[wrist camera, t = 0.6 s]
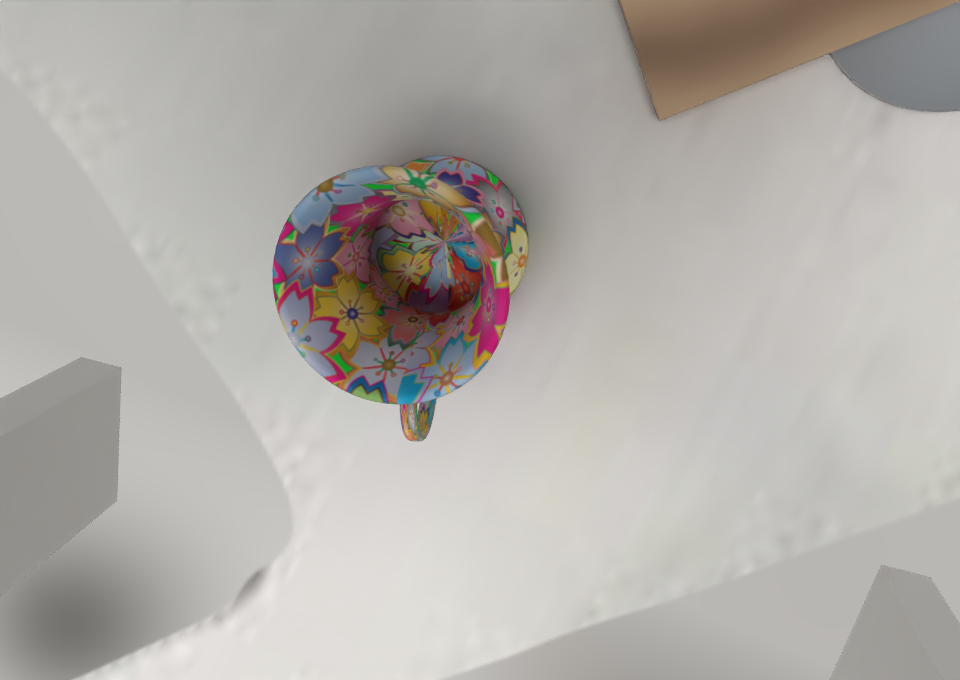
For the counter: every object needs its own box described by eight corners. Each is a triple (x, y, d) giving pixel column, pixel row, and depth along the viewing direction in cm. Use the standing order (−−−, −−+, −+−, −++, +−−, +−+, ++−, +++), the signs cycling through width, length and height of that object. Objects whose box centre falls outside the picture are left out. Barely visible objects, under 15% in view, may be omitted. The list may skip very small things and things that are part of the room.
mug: (350, 149, 38) (255, 171, 28) (535, 141, 37) (503, 162, 27) (372, 374, 42) (295, 463, 32) (542, 377, 40) (515, 471, 30)
